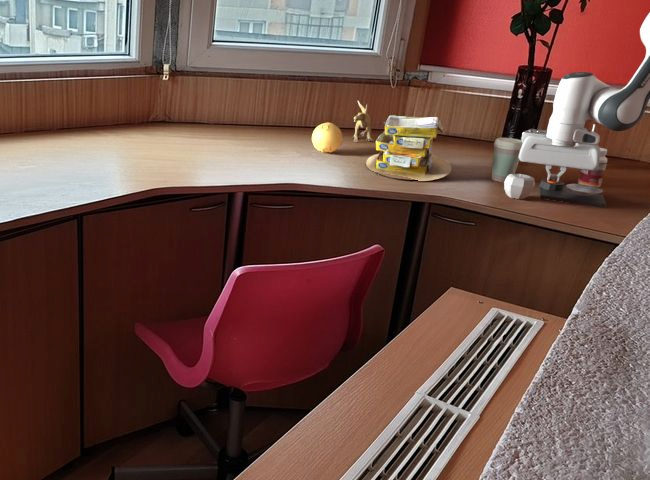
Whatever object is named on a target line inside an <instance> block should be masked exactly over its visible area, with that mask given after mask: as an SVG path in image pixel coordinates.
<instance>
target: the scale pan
mask: <svg viewBox="0 0 650 480" xmlns="http://www.w3.org/2000/svg"><path fill="white" fill-rule="evenodd" d="M565 187H566V189H567V190H569V191H572V192H575V193H580V194H586V195H600V194H602V195H603V193H604V190H603V189H602V188H600V187H594V186H589V185H583V184H578V183H568V184H566V185H565Z"/></svg>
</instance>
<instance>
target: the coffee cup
mask: <svg viewBox="0 0 650 480" xmlns="http://www.w3.org/2000/svg"><path fill="white" fill-rule="evenodd" d="M521 146H522V142H521V139H518V138H512V137H498V138H496V139H495V141H494V142H493V156H492V167H491V180H493V181H495V182H499V183H504V181H505V179H506V178H507V176H508V175H509V174H516V171H517V168H518V165H519V163H520V160H519V158H518V157H519V152H520V149H521Z"/></svg>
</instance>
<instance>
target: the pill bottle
mask: <svg viewBox="0 0 650 480" xmlns="http://www.w3.org/2000/svg"><path fill="white" fill-rule="evenodd" d="M599 148H600V160H599V165H598V168H597V169H595V170H585V169H580V172H579V175H578V179H577V184H583V185H589V186H594V187H597V188H600V187H601V186H602V183H603V180H604V179H603V178H604V175H605V172H606V169H607V163H608V157H606V155H607V153H608V149H607V148H604V147H599Z"/></svg>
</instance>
